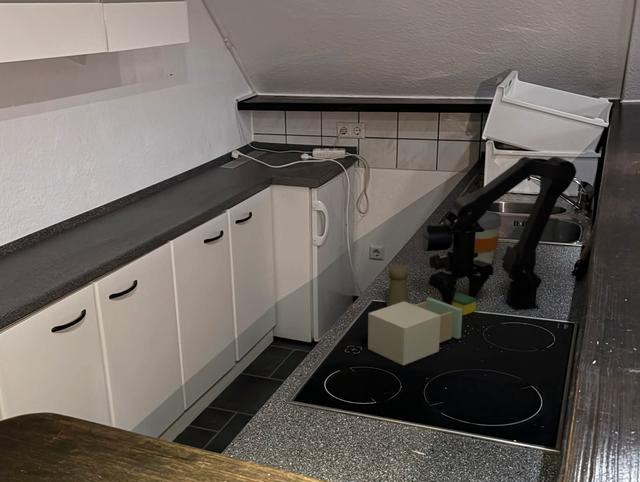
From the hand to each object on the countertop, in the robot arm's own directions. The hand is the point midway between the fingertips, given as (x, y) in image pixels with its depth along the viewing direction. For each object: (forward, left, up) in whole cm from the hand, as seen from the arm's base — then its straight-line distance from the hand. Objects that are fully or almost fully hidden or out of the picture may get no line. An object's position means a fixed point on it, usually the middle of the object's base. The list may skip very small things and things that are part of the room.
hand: (459, 305), depth 200 cm
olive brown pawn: (+15, -6, -1) cm, 16 cm away
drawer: (+13, +17, 0) cm, 22 cm away
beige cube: (+21, +22, -1) cm, 31 cm away
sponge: (0, 0, -1) cm, 1 cm away
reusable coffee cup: (-18, -36, -1) cm, 40 cm away
